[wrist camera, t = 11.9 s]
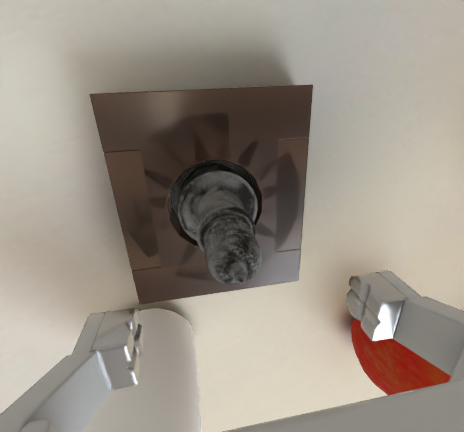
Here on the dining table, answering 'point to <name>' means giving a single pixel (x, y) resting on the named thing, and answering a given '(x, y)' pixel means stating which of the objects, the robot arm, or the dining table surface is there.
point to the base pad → (192, 153)
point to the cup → (157, 382)
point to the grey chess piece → (222, 222)
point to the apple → (393, 364)
